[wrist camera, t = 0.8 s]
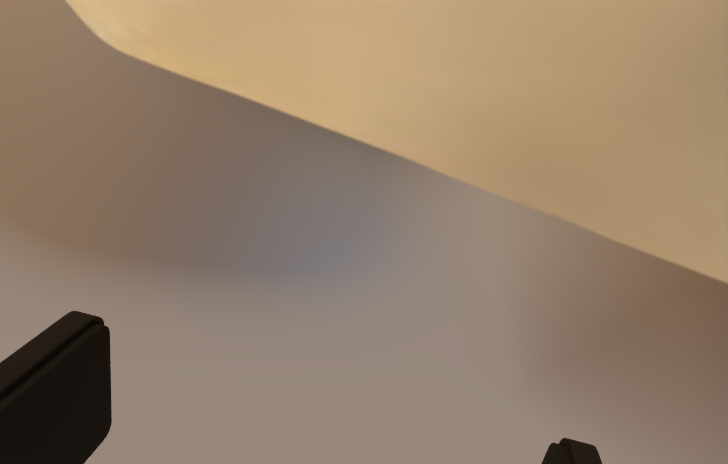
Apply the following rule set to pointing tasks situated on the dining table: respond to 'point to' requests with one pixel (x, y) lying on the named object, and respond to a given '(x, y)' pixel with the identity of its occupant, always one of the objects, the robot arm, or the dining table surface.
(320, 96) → the dining table surface
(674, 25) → the dining table surface
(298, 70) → the dining table surface
